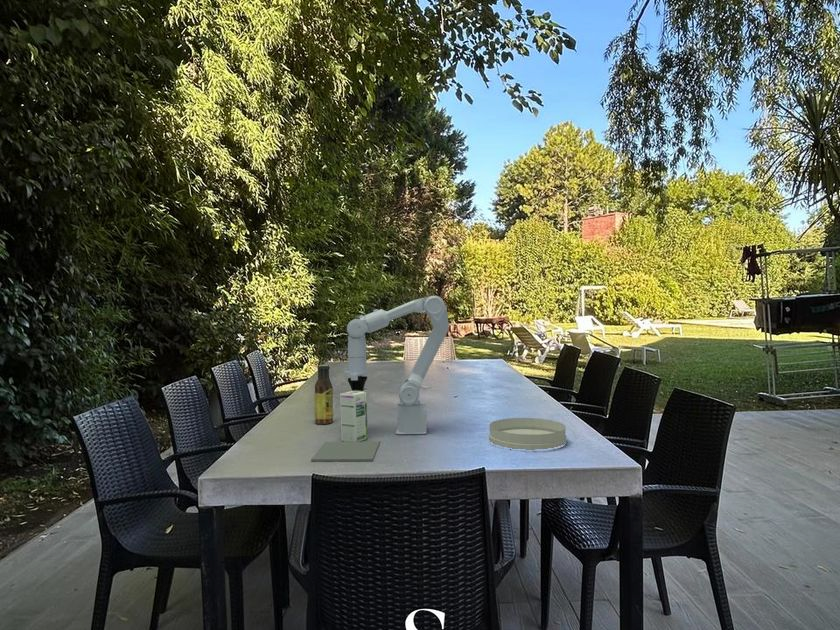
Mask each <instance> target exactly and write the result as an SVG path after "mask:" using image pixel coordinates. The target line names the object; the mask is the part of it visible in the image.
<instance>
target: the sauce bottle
mask: <svg viewBox="0 0 840 630" xmlns="http://www.w3.org/2000/svg"><path fill="white" fill-rule="evenodd" d="M333 418H334V388H333V385H332V382H331V379H330V365H328V364H322V365H321V364H319V365H317V380H316V382H315V384H314V423H315V424H316V425H328V424H331V423H333Z"/></svg>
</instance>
